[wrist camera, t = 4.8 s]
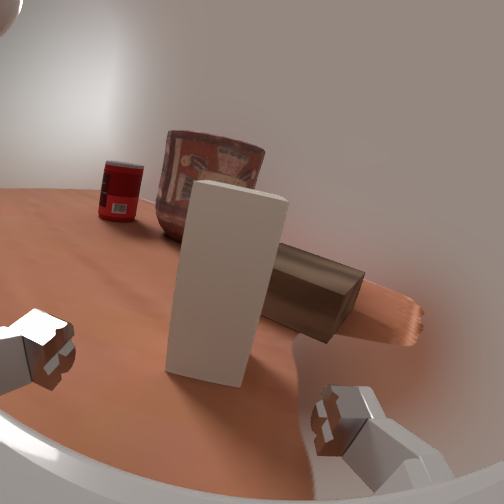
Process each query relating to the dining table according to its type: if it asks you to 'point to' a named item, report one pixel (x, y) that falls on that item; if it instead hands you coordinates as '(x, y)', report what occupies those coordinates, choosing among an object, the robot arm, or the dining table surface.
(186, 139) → the pottery
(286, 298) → the walnut block
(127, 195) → the canned food
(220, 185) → the cream block
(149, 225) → the dining table surface
